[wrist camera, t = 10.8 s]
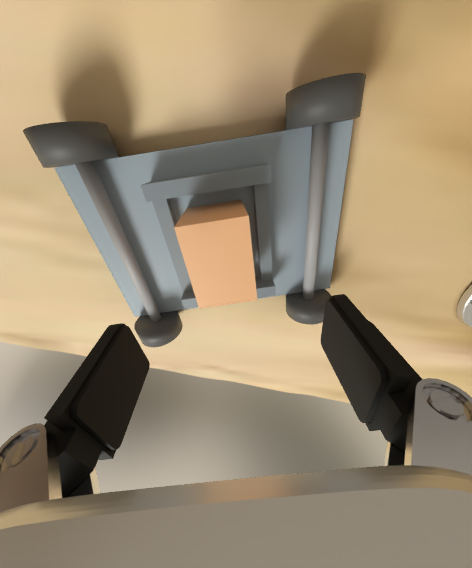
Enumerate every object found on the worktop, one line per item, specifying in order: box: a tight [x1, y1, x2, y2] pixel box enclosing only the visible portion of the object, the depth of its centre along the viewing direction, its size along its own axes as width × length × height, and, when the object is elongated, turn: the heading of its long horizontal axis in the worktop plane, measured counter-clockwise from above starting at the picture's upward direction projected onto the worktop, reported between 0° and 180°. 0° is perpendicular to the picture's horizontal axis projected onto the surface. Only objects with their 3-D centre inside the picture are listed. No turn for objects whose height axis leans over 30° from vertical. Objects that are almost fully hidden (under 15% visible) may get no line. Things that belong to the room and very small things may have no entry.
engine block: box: [174, 199, 257, 309], centre depth 18 cm, size 5×7×6 cm
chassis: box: [23, 73, 366, 347], centre depth 19 cm, size 24×20×5 cm
